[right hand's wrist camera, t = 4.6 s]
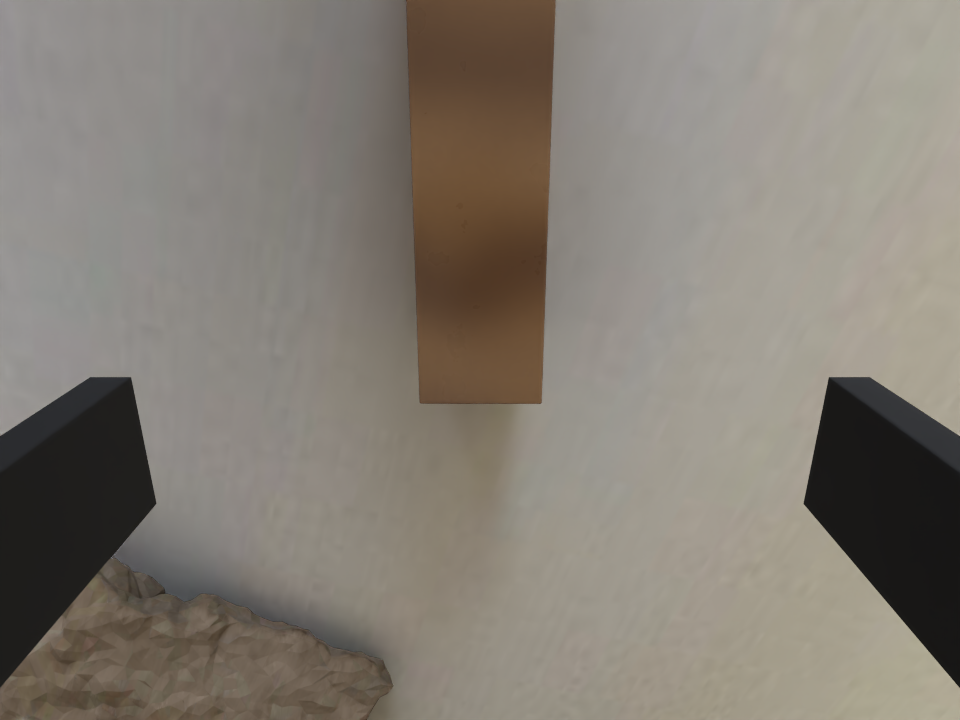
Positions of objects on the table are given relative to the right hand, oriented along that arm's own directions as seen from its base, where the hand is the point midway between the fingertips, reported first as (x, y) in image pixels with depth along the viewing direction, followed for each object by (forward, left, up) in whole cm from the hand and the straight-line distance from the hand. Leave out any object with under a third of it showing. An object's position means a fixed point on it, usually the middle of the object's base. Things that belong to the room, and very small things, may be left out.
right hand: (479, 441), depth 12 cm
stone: (-29, +2, -20) cm, 35 cm away
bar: (+6, +4, -20) cm, 21 cm away
